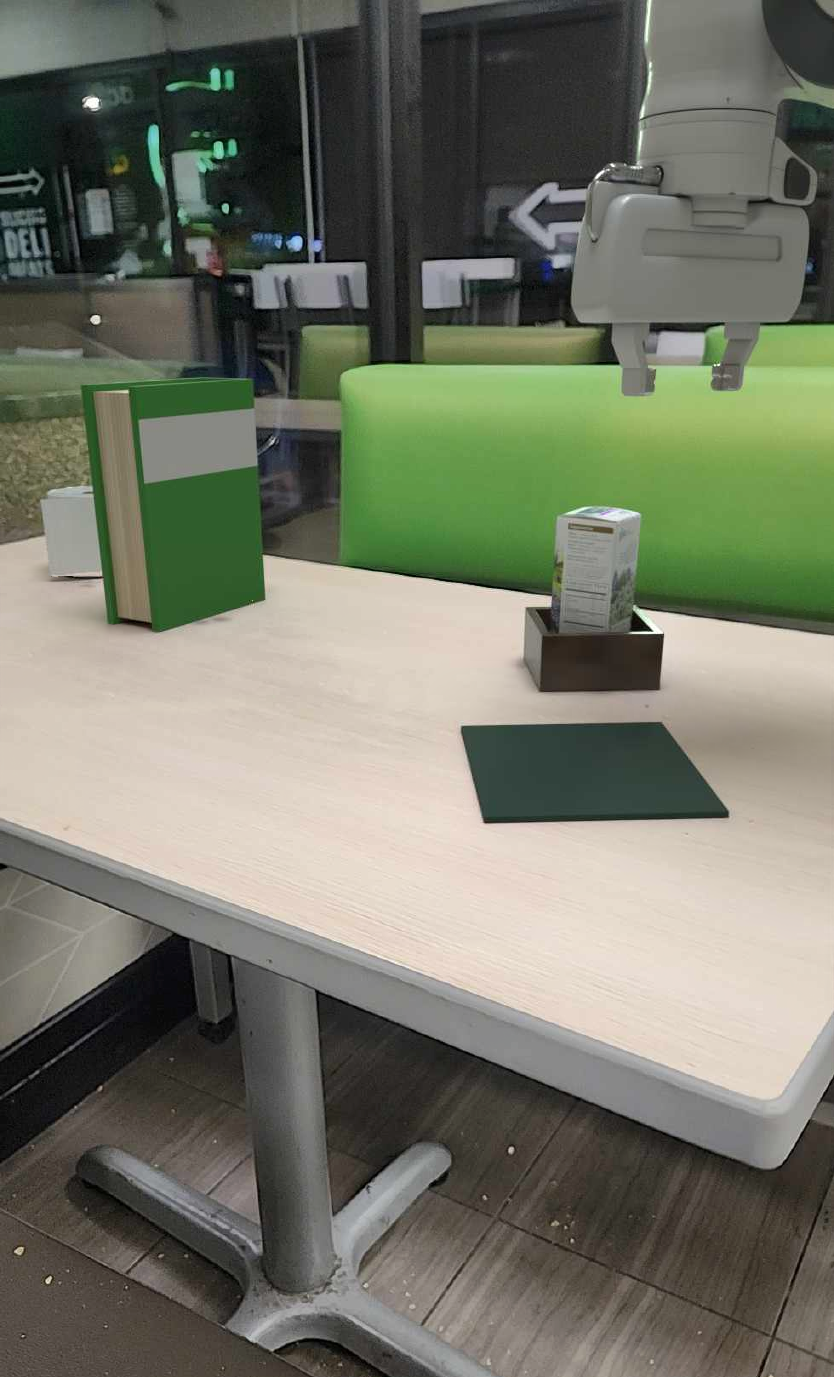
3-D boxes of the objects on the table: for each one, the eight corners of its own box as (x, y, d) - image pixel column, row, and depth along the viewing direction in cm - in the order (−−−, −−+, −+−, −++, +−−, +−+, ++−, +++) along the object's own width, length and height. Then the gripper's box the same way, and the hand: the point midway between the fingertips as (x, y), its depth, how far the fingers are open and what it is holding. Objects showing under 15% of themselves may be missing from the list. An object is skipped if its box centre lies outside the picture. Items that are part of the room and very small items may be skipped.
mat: (660, 726, 90) (661, 721, 90) (728, 816, 73) (729, 811, 73) (460, 730, 89) (461, 725, 89) (484, 822, 73) (484, 816, 73)
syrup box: (571, 661, 107) (579, 504, 101) (630, 670, 104) (642, 509, 98) (546, 676, 103) (553, 513, 97) (606, 685, 100) (618, 518, 94)
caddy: (632, 656, 109) (636, 605, 107) (659, 689, 99) (664, 633, 97) (523, 658, 108) (525, 606, 106) (539, 691, 98) (541, 635, 96)
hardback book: (158, 632, 118) (135, 386, 108) (107, 623, 121) (80, 384, 112) (265, 599, 132) (252, 378, 122) (216, 592, 135) (200, 377, 125)
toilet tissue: (146, 561, 153) (138, 484, 149) (132, 579, 142) (123, 497, 138) (65, 562, 152) (56, 485, 148) (46, 581, 141) (34, 499, 137)
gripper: (628, 154, 67) (612, 401, 73) (833, 177, 78) (806, 390, 84) (555, 165, 72) (545, 397, 77) (758, 185, 83) (737, 386, 88)
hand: (683, 393), depth 81 cm, fingers open, 8 cm apart
